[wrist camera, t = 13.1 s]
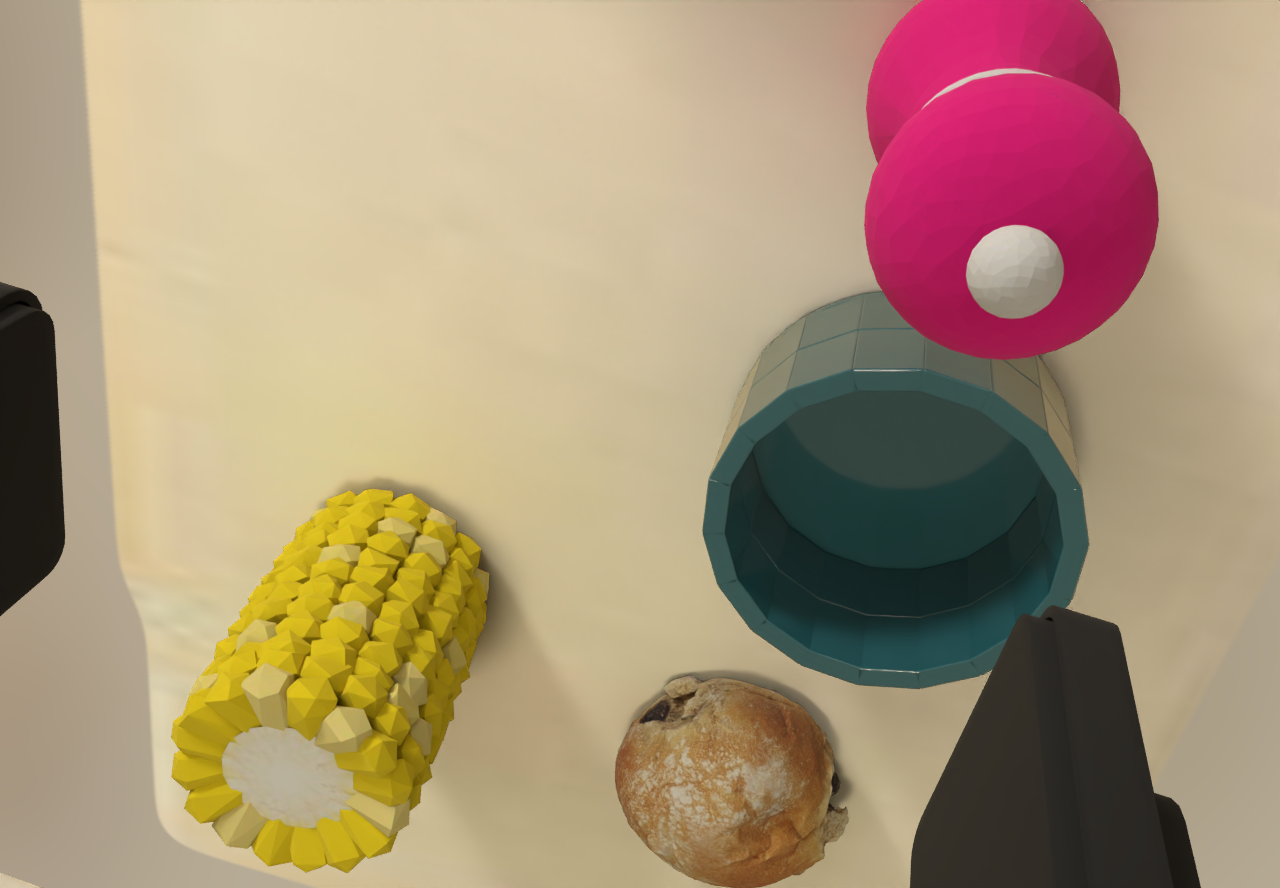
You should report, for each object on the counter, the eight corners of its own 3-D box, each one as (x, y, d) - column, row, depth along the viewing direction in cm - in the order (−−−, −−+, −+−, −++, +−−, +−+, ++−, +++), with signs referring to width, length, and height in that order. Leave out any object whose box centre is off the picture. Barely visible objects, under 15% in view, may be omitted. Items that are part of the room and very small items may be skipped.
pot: (788, 245, 43) (762, 316, 37) (1129, 354, 42) (1159, 445, 36) (697, 519, 50) (662, 617, 44) (991, 619, 49) (998, 734, 43)
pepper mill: (829, 58, 40) (742, 250, 23) (1019, -95, 36) (1085, -5, 19) (955, 224, 41) (962, 520, 24) (1146, 92, 38) (1312, 328, 21)
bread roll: (770, 610, 55) (686, 661, 48) (909, 796, 53) (841, 877, 46) (638, 715, 60) (545, 774, 53) (760, 890, 58) (679, 975, 51)
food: (335, 440, 54) (541, 520, 54) (269, 655, 57) (464, 730, 57) (176, 571, 39) (459, 680, 39) (102, 848, 43) (362, 948, 43)
